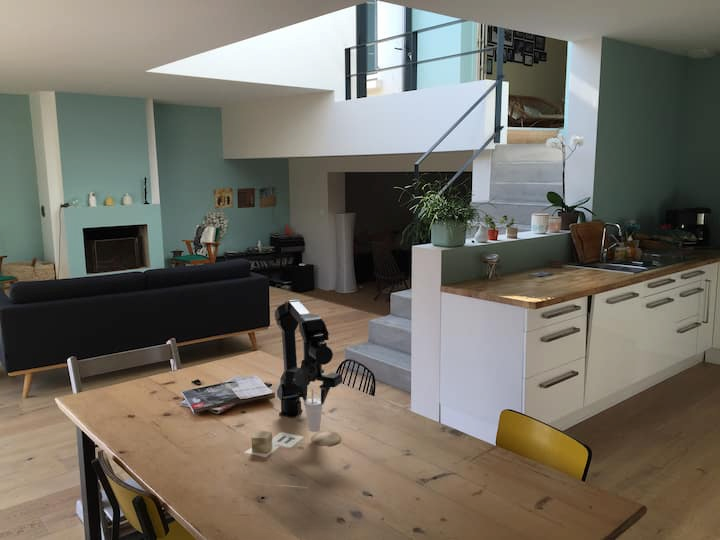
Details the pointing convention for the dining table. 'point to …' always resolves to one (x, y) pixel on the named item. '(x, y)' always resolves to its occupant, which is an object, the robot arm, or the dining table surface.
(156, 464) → the dining table surface
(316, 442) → the coaster
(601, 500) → the dining table surface
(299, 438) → the tile
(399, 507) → the dining table surface
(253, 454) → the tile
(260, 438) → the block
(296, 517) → the dining table surface
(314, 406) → the smoothie
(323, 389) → the robot arm
